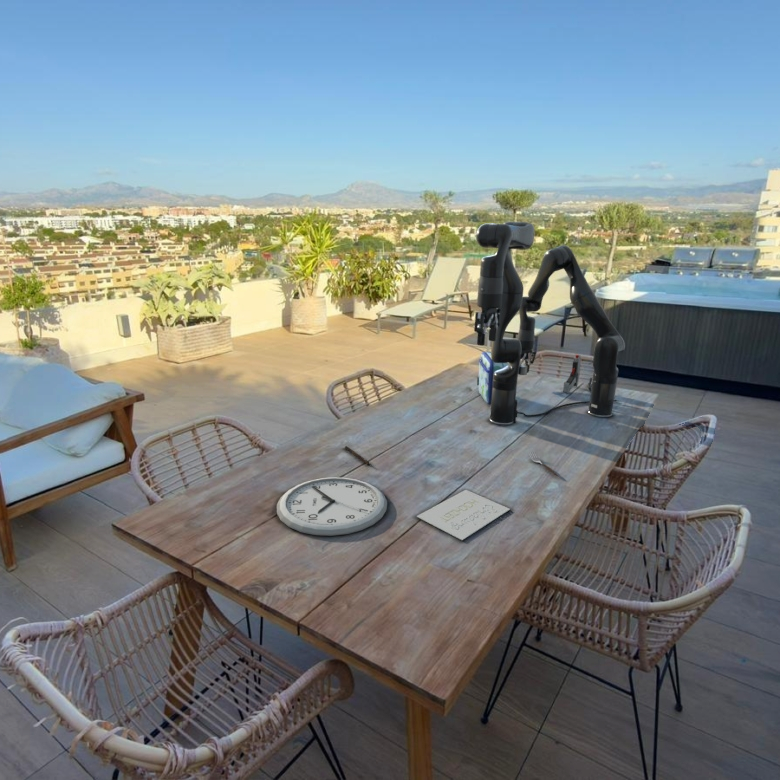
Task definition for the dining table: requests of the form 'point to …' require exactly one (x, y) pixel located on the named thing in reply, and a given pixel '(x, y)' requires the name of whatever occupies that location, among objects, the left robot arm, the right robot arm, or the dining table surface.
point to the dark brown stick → (357, 455)
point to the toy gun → (573, 375)
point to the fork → (541, 463)
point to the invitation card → (463, 514)
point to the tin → (524, 370)
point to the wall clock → (331, 506)
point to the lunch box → (487, 375)
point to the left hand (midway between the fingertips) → (486, 342)
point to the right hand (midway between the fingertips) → (522, 372)
